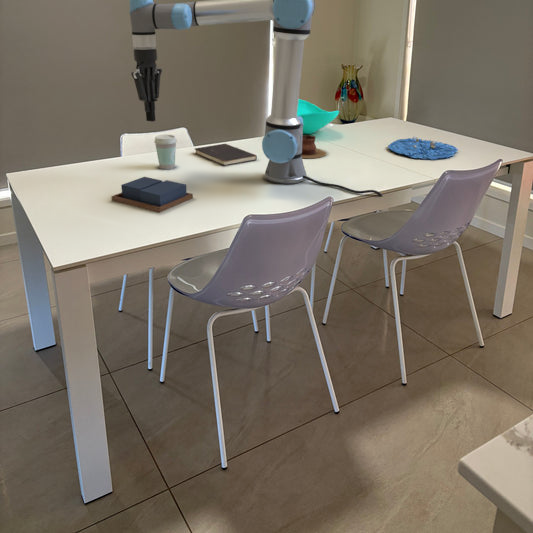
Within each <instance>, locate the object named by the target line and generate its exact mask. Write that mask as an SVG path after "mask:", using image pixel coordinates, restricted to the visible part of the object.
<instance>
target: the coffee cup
mask: <svg viewBox="0 0 533 533" xmlns="http://www.w3.org/2000/svg"><path fill="white" fill-rule="evenodd" d="M177 142H178V141H177V138H176V136H175V135H173V134H159V135H156V136H155V138H154V145H155V150H156V155H157V160H158V161H157V162H158V165H159V168H160V169H161V170H172V169H175V167H176V151H177Z"/></svg>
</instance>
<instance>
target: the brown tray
mask: <svg viewBox="0 0 533 533" xmlns="http://www.w3.org/2000/svg"><path fill="white" fill-rule="evenodd" d="M192 199H194V193H190V192H187V195H186V196H184V197H181V198H179V199H177V200H174V201H172V202H170V203H167V204H165V205H163V206H160V207H158V206H153V205H149V204H145V203H141V202H137V201H133V200H129V199H125V198H123V197H122V192H119V193H116V194H114V195H111V201H112V202H115V203H119V204H123V205H127V206H132V207H135V208H139V209H143V210H147V211H151V212H155V213H162V212H165V211H167V210H169V209H171V208H174V207H177V206H178V205H181V204H183V203H185V202H188V201H190V200H192Z"/></svg>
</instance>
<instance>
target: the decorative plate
mask: <svg viewBox="0 0 533 533" xmlns="http://www.w3.org/2000/svg"><path fill="white" fill-rule="evenodd" d="M387 148H388V150H390V151H392V152H394V153H396V154H398V155H405V156H407V157H409V158H411V159H423V160H438V159H444V158H445V159H447V158H450V157H453V156H455V155H456V153H457V152H458V151H459V149H458V148H457V147H455V145H453V144H448V143H444V142H441V141H439V142H438V141H435V140H432V139H430V140H427V139H423V138H422V139H421V138H418V137H417V136H413V137H412V138H410V137H407V138H401V139H400V138H399V139H396V140H394V141H392V142H391V143H390V144H388V145H387Z"/></svg>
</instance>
